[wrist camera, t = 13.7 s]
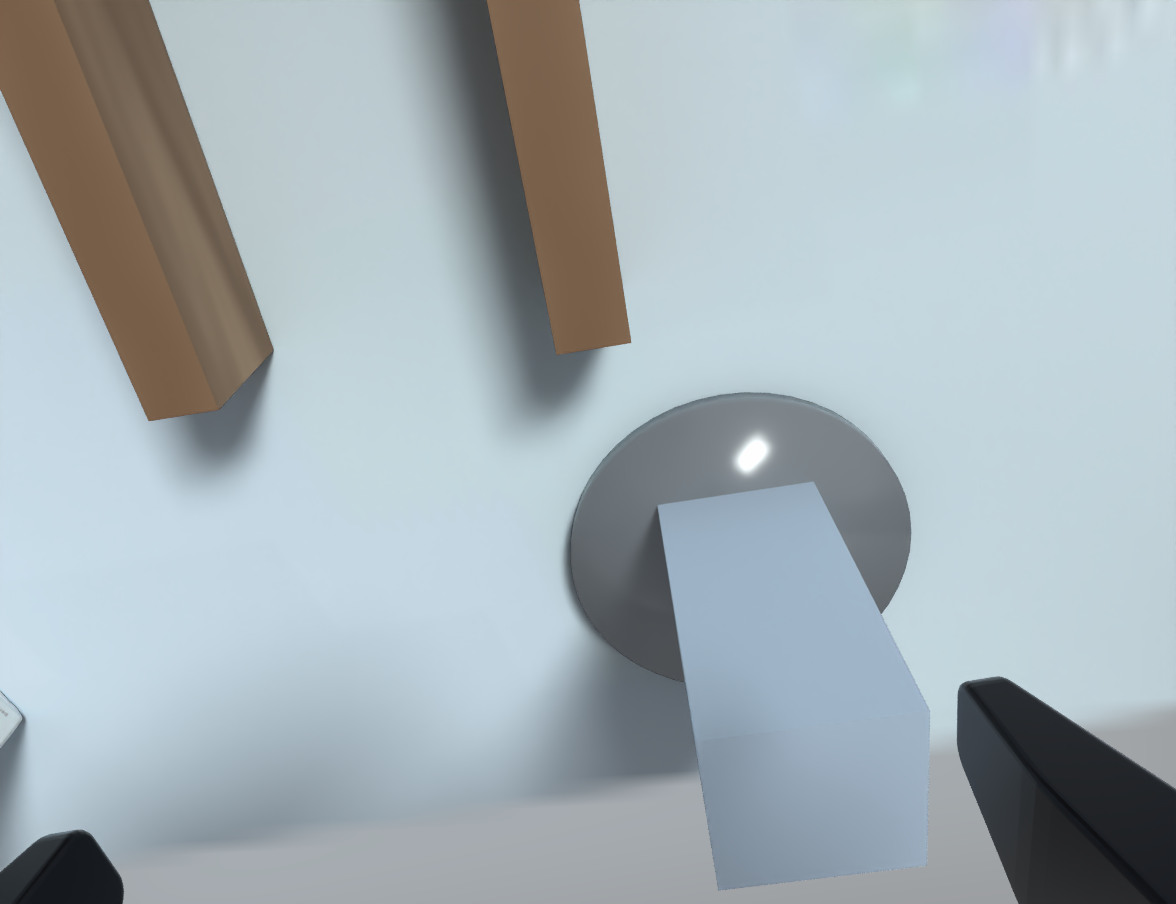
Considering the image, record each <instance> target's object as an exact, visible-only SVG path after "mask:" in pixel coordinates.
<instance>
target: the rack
mask: <svg viewBox="0 0 1176 904" xmlns="http://www.w3.org/2000/svg"><path fill="white" fill-rule="evenodd" d="M487 5H488V10H489V15H490V20H491V25H492V30H493V35H494V40H495V45H496V50H497V55H498V60H499V65H500V71H501V76H502V81H503V86H504V91H505V96H506V101H507V106H508V111H509V116H510V121H511V126H512V132H513V137H514V142H515V147H516V152H517V157H518V162H519V167H520V172H521V177H522V182H523V187H524V192H525V198H526V203H527V208H528V213H529V218H530V223H531V228H532V233H533V238H534V243H535V248H536V253H537V259H538V264H539V269H540V274H541V279H542V284H543V289H544V294H545V299H546V304H547V309H548V314H549V320H550V325H551V330H552V335H553V340H554V345H555V350H556V355H559V354H566V353H572V352H578V351H584V350H590V349H596V348H602V347H609V346H615V345H621V344H627V343H631V337H630V331H629V324H628V318H627V311H626V305H625V298H624V292H623V285H622V279H621V272H620V266H619V259H618V252H617V246H616V239H615V233H614V226H613V220H612V213H611V207H610V200H609V194H608V187H607V181H606V174H605V167H604V161H603V154H602V148H601V141H600V135H599V128H598V122H597V115H596V109H595V102H594V96H593V89H592V82H591V76H590V69H589V63H588V56H587V50H586V43H585V37H584V30H583V24H582V17H581V11H580V4H579V0H487ZM0 90H1V92H2V94H3V96H4V99H5V101H6V103H7V105H8V108H9V110H10V112H11V114H12V117H13V119H14V121H15V123H16V125H17V128H18V130H19V132H20V134H21V137H22V139H23V141H24V143H25V146H26V148H27V150H28V152H29V155H30V157H31V159H32V161H33V164H34V166H35V168H36V170H37V172H38V175H39V177H40V179H41V181H42V184H43V186H44V188H45V190H46V193H47V195H48V197H49V199H50V202H51V204H52V206H53V208H54V210H55V213H56V215H57V217H58V219H59V222H60V224H61V226H62V228H63V231H64V233H65V235H66V237H67V240H68V242H69V244H70V246H71V248H72V251H73V253H74V255H75V257H76V260H77V262H78V264H79V266H80V269H81V271H82V273H83V275H84V278H85V280H86V282H87V284H88V286H89V289H90V291H91V293H92V295H93V298H94V300H95V302H96V304H97V307H98V309H99V311H100V313H101V316H102V318H103V320H104V322H105V325H106V327H107V329H108V331H109V333H110V336H111V338H112V340H113V342H114V345H115V347H116V349H117V351H118V354H119V356H120V358H121V360H122V363H123V365H124V367H125V369H126V371H127V374H128V376H129V378H130V380H131V383H132V385H133V387H134V389H135V392H136V394H137V396H138V398H139V401H140V403H141V405H142V407H143V409H144V412H145V414H146V416H147V418H148V421H153V420H160V419H166V418H172V417H178V416H184V415H190V414H197V413H203V412H209V411H215V410H219V409H220V408H221V407H222V406H223V405H224V404H225V403H226V401H227V400H228V399H229V398H230V397H231V396H232V395H233V394H234V393H235V392H236V391H237V390H238V388H239V387H240V386H241V385H242V384H243V383H244V382H245V381H246V380H247V379H248V378H249V376H250V375H251V374H252V373H253V372H254V371H255V370H256V369H257V368H258V367H259V366H260V364H261V363H262V362H263V361H264V360H265V359H266V358H267V357H268V356H269V355H270V354H271V353H272V351H273V350H274V349H273V347H272V344H271V341H270V338H269V335H268V333H267V330H266V327H265V324H264V321H263V319H262V316H261V313H260V310H259V307H258V305H257V302H256V299H255V296H254V293H253V291H252V288H251V285H250V282H249V279H248V277H247V274H246V271H245V268H244V265H243V263H242V260H241V257H240V254H239V251H238V249H237V246H236V243H235V240H234V238H233V235H232V232H231V229H230V226H229V224H228V221H227V218H226V215H225V212H224V210H223V207H222V204H221V201H220V198H219V196H218V193H217V190H216V187H215V184H214V182H213V179H212V176H211V173H210V170H209V168H208V165H207V162H206V159H205V156H204V154H203V151H202V148H201V145H200V142H199V140H198V137H197V134H196V131H195V128H194V126H193V123H192V120H191V117H190V115H189V112H188V109H187V106H186V103H185V101H184V98H183V95H182V92H181V89H180V87H179V84H178V81H177V78H176V75H175V73H174V70H173V67H172V64H171V61H170V59H169V56H168V53H167V50H166V47H165V45H164V42H163V39H162V36H161V33H160V31H159V28H158V25H157V22H156V19H155V17H154V14H153V11H152V8H151V5H150V3H149V0H0Z"/></svg>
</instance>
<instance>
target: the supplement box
mask: <svg viewBox="0 0 1176 904" xmlns="http://www.w3.org/2000/svg"><path fill="white" fill-rule="evenodd" d="M21 721H22V716H21V715H20V713H19V711H18V709H17V708H16V707H15V706H14V705H13V704H12V703H11V702H9V700H8V699H7V698H6V697H5V696H4V695H3V694H2V693H1V692H0V748H1V747H2V746H3V745H4V743H5V742H6V741H7V740H8V738H9V737H10V736H11V734H12V733H13V732H14V730H15V729H16V728H17V726H18V725H19V724H20V722H21Z"/></svg>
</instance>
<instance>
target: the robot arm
mask: <svg viewBox="0 0 1176 904" xmlns="http://www.w3.org/2000/svg"><path fill="white" fill-rule="evenodd" d="M957 746H958V752H959V756H960V760H961V763H962V766H963V768H964V771H965V773H966V776H967V778H968V780H969V783H970V786H971V788H972V791H973V793H974V796H975V798H976V800H977V803H978V806H979V808H980V810H981V813H982V815H983V818H984V820H985V823H986V825H987V828H988V830H989V833H990V835H991V838H992V840H993V842H994V845H995V847H996V850H997V852H998V854H999V857H1000V860H1001V862H1002V864H1003V867H1004V870H1005V872H1006V875H1007V877H1008V879H1009V882H1010V884H1011V887H1012V889H1013V892H1014V894H1015V897H1016V899H1017V901H1018V903H1019V904H1176V789H1175V788H1174V787H1172V786H1170V785H1169V784H1167V783H1166V782H1164V781H1163V780H1161V779H1160V778H1158V777H1156V776H1155V775H1154V774H1152V773H1151V772H1149V771H1147V770H1146V769H1145V768H1143V767H1141V766H1140V765H1138V764H1137V763H1135V762H1134V761H1132V760H1131V759H1129V758H1128V757H1126V756H1125V755H1123V754H1122V753H1120V752H1119V751H1117V750H1116V749H1114V748H1113V747H1111V746H1109V745H1108V744H1106V743H1105V742H1103V741H1102V740H1100V739H1099V738H1097V737H1095V736H1094V735H1093V734H1091V733H1090V732H1088V731H1087V730H1085V729H1084V728H1082V727H1081V726H1079V725H1077V724H1076V723H1074V722H1073V721H1071V720H1070V719H1068V718H1067V717H1065V716H1064V715H1062V714H1061V713H1059V712H1058V711H1056V710H1055V709H1053V708H1052V707H1050V706H1048V705H1047V704H1045V703H1044V702H1042V701H1041V700H1039V699H1038V698H1036V697H1035V696H1033V695H1032V694H1030V693H1029V692H1027V691H1026V690H1024V689H1023V688H1021V687H1020V686H1018V685H1016V684H1015V683H1013V682H1012V681H1010V680H1008V679H1006V678H1003V677H990V678H984V679H978V680H972V681H966V682H964V683H962V684H961V685H960V687H959V690H958V706H957ZM123 894H124V889H123V883H122V879H121V877H120V875H119V873H118V872H117V870H116V869H115V867H114V866H113V865H112V863H111V862H110V860H109V859H108V857H107V856H106V854H105V853H104V852H103V850H102V849H101V847H100V846H99V844H98V843H97V841H96V840H95V839H94V837H93V836H92V835H91V834H90V833H88V832H86V831H84V830H73V831H67V832H61V833H55V834H50V835H47V836H44V837H42V838H40V839H38V840H37V841H36V842H35V843H33V844H32V845H31V846H30V847H29V848H28V849H26V850H25V851H24V852H23V853H22V854H21V855H20V856H18V857H17V858H16V859H15V860H14V861H13V862H12V863H10V864H9V865H8V866H7V867H6V868H5V869H3V870H2V871H1V872H0V904H122V903H123Z"/></svg>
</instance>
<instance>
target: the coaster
mask: <svg viewBox="0 0 1176 904" xmlns="http://www.w3.org/2000/svg"><path fill="white" fill-rule="evenodd" d="M807 482H814V483H815V485H816V487H817V489H818V491H819V493H820V495H821V497H822V499H823V501H824V503H825V505H826V507H827V509H828V511H829V513H830V515H831V517H832V519H833V521H834V523H835V525H836V527H837V529H838V531H839V532H840V534H841V536H842V538H843V540H844V542H845V544H846V546H847V548H848V550H849V552H850V554H851V556H852V558H853V560H854V562H855V564H856V566H857V568H858V570H859V572H860V574H861V576H862V578H863V580H864V582H865V584H866V586H867V588H868V590H869V592H870V594H871V596H872V598H873V599H874V601H875V603H876V605H877V607H878V609H879V611H880V613H881V614H882V612H883V611H884V610H885V608H886V607H887V606H888V604H889V603H890V601H891V599H892V597H893V596H894V594H895V592H896V590H897V589H898V587H899V584H900V582H901V579H902V577H903V574H904V572H905V569H906V564H907V560H908V556H909V552H910V542H911V522H910V512H909V508H908V504H907V500H906V496H905V493H904V491H903V489H902V486H901V484H900V481H899V479H898V477H897V476H896V474H895V472H894V471H893V469H892V468H891V466H890V465H889V463H888V461H887V460H886V458H885V457H884V456H883V454H882V453H881V451H880V450H879V449H878V448H877V447H876V445H875V444H874V443H873V442H872V441H871V440H870V439H869V438H868V436H867V435H865V434H864V433H863V432H862V431H861V430H859V429H858V428H857V427H856V426H855V425H853V424H852V423H851V422H849V421H848V420H846V419H845V418H843V417H841V416H840V415H838V414H836V413H835V412H833V411H831V410H829V409H826V408H824V407H822V406H819V405H817V404H815V403H812V402H809V401H805V400H802V399H798V398H794V397H791V396H784V395H777V394H771V393H734V394H724V395H717V396H713V397H708V398H704V399H699V400H696V401H693V402H690V403H687V404H684V405H681V406H678V407H675V408H673V409H671V410H669V411H667V412H665V413H663V414H661V415H659V416H657V417H654V418H653V419H651V420H650V421H648V422H646V423H645V424H643V425H642V426H640V427H639V428H637V429H636V430H634V431H633V432H632V433H631V434H629V435H628V436H627V437H626V438H625V439H623V440H622V441H621V442H620V443H619V444H617V445H616V446H615V448H614V449H613V450H612V451H611V452H610V453H609V454H608V455H607V456H606V457H605V458H604V459H603V460H602V462H601V463H600V465H599V466H598V468H597V469H596V470H595V472H594V473H593V475H592V476H591V478H590V479H589V481H588V483H587V485H586V487H585V489H584V491H583V493H582V495H581V498H580V501H579V503H578V506H577V509H576V512H575V516H574V522H573V527H572V536H571V567H572V575H573V582H574V585H575V588H576V592H577V595H578V599H579V601H580V603H581V605H582V607H583V609H584V611H585V613H586V615H587V617H588V618H589V620H590V621H591V623H592V624H593V626H594V627H595V629H596V630H597V631H598V632H599V633H600V634H601V635H602V637H603V638H604V639H605V640H606V641H607V642H608V643H609V644H610V645H611V646H613V647H614V648H615V649H616V650H617V651H618V652H620V653H621V654H622V655H623V656H625V657H627V658H628V659H630V660H631V661H633V662H634V663H636V664H638V665H639V666H641V667H644V668H646V669H648V670H650V671H652V672H654V673H656V674H659V675H662V676H665V677H668V678H671V679H674V680H678V681H682V682H685V679H684V673H683V667H682V660H681V654H680V648H679V642H678V635H677V629H676V623H675V616H674V610H673V603H672V597H671V590H670V584H669V577H668V571H667V564H666V558H665V551H664V545H663V538H662V532H661V525H660V519H659V513H658V506H657V505H661V504H668V503H675V502H681V501H688V500H694V499H701V498H708V497H714V496H721V495H728V494H734V493H741V492H748V491H754V490H761V489H767V488H774V487H781V486H787V485H794V484H801V483H807Z"/></svg>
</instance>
